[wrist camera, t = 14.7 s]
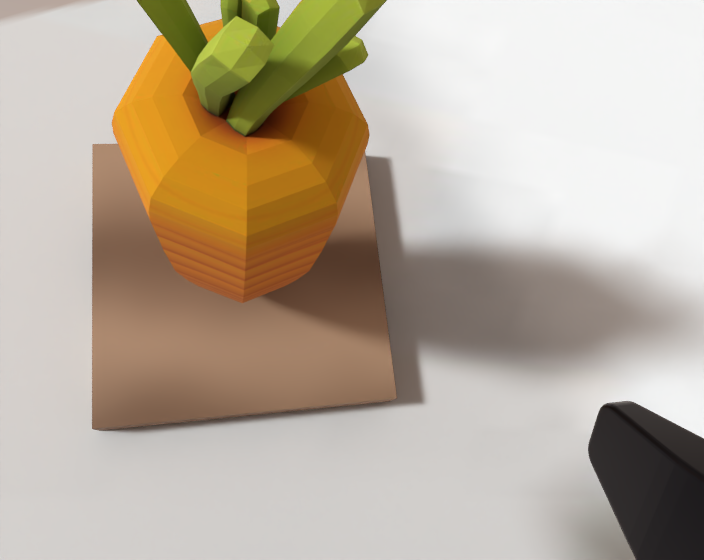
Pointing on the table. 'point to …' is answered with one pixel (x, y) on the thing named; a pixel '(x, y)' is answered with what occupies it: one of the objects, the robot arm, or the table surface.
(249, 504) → the table surface
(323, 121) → the carrot
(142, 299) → the walnut block
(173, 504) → the table surface
